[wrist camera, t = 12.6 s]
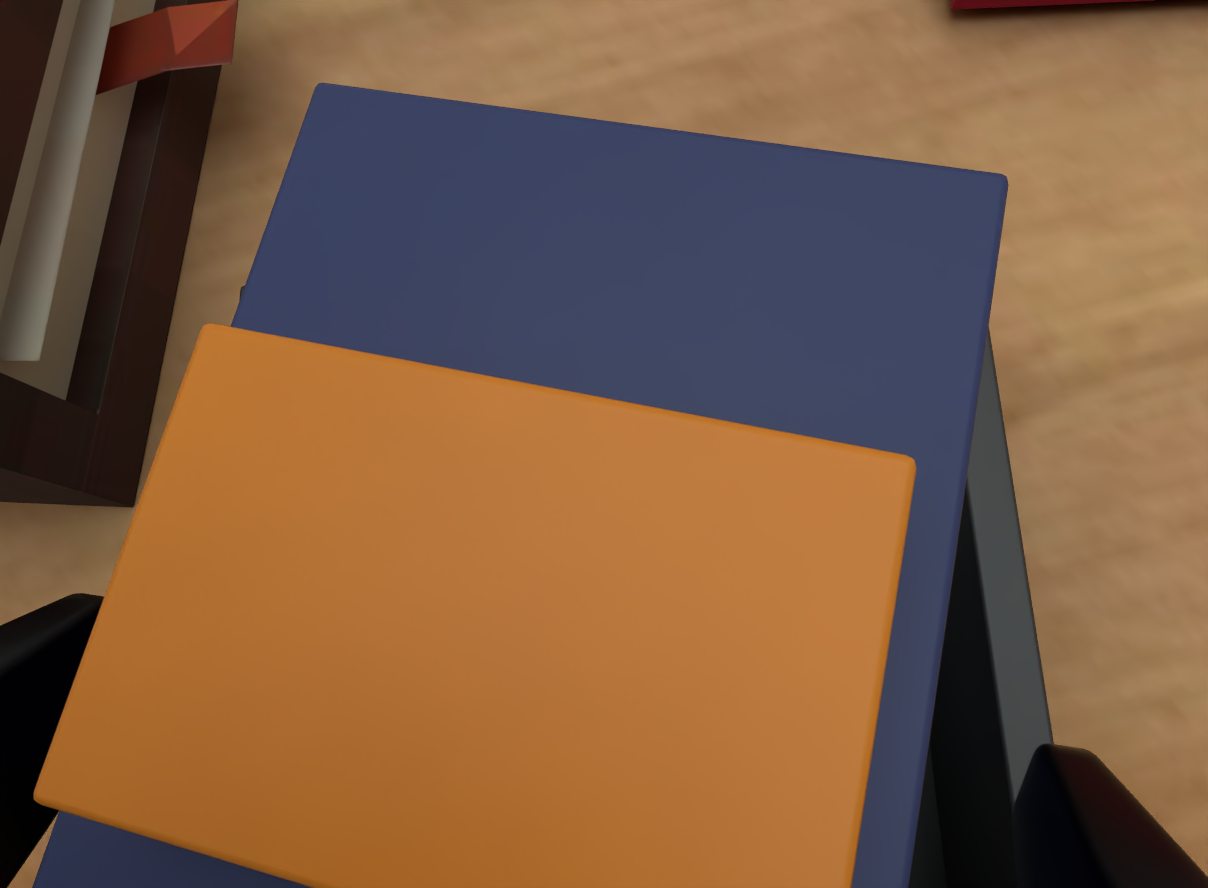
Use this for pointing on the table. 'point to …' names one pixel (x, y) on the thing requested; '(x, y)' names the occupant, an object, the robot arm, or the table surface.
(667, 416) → the block
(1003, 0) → the red board with handle
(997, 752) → the bin
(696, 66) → the table surface
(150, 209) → the decorative book
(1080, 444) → the table surface
